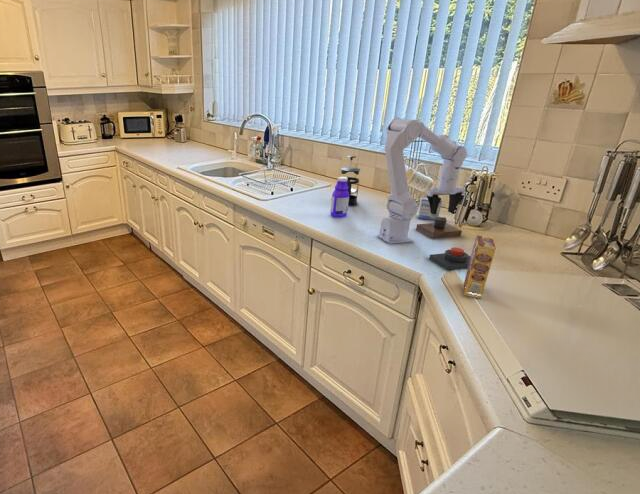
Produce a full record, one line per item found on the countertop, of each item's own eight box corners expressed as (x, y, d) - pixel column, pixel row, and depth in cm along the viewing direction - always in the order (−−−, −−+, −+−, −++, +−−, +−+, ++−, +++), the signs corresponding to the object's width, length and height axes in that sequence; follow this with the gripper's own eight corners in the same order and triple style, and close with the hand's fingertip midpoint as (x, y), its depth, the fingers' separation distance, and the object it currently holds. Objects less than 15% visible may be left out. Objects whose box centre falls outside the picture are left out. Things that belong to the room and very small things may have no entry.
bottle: (341, 213, 178) (345, 175, 171) (349, 217, 173) (353, 178, 166) (327, 215, 176) (331, 176, 169) (335, 219, 171) (338, 179, 164)
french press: (357, 206, 186) (363, 158, 178) (337, 205, 188) (341, 157, 180) (355, 200, 197) (361, 153, 188) (336, 199, 199) (340, 153, 190)
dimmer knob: (437, 229, 150) (439, 219, 149) (430, 225, 154) (432, 216, 152) (447, 228, 151) (449, 219, 149) (440, 225, 154) (441, 215, 153)
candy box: (482, 299, 107) (496, 248, 101) (464, 296, 109) (476, 245, 103) (480, 285, 114) (493, 237, 108) (463, 282, 116) (475, 234, 110)
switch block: (447, 270, 123) (450, 260, 122) (428, 259, 131) (430, 249, 130) (481, 267, 125) (483, 257, 124) (460, 256, 133) (462, 246, 132)
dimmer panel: (432, 239, 148) (433, 232, 147) (415, 230, 157) (416, 223, 156) (460, 236, 150) (462, 230, 149) (442, 227, 159) (443, 221, 158)
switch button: (455, 257, 125) (456, 252, 125) (447, 252, 128) (448, 247, 128) (465, 256, 126) (466, 251, 125) (457, 251, 129) (458, 246, 128)
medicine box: (417, 218, 170) (421, 199, 166) (417, 215, 173) (420, 196, 170) (438, 220, 167) (442, 201, 164) (437, 217, 171) (441, 198, 167)
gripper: (438, 181, 140) (431, 217, 145) (474, 179, 143) (466, 214, 148) (426, 177, 147) (419, 211, 152) (460, 175, 149) (452, 209, 154)
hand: (441, 213), depth 150 cm, fingers open, 7 cm apart
